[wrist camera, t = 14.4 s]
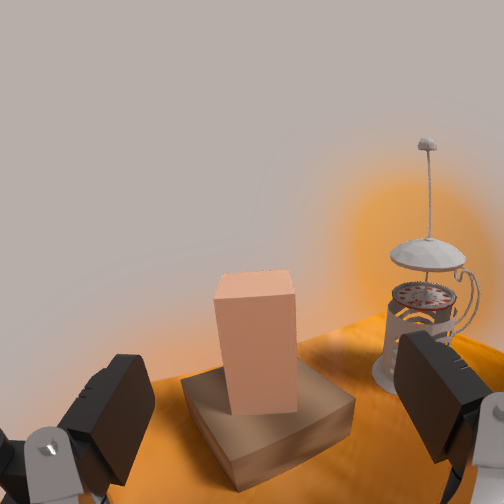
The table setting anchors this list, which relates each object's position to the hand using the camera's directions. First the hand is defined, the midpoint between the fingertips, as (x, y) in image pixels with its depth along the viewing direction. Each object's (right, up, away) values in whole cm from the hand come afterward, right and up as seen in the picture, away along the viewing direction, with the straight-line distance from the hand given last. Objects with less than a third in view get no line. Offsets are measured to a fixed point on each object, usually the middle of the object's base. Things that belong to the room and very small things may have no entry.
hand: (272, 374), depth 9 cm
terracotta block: (0, -8, +15) cm, 17 cm away
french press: (+18, -10, +21) cm, 30 cm away
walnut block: (+1, -13, +16) cm, 21 cm away
